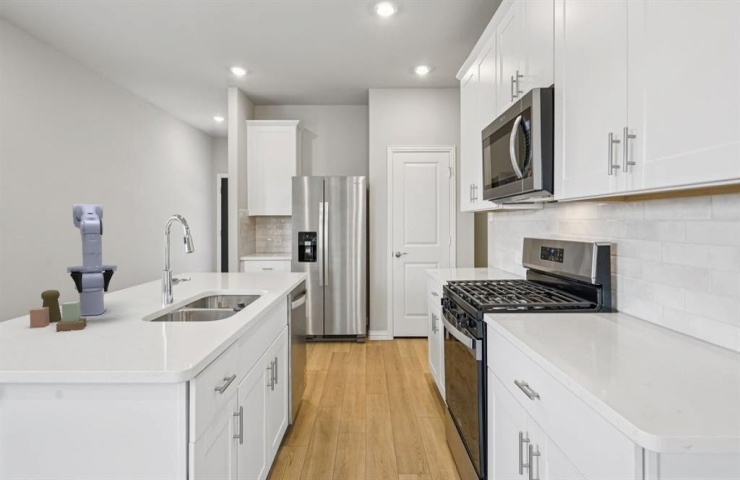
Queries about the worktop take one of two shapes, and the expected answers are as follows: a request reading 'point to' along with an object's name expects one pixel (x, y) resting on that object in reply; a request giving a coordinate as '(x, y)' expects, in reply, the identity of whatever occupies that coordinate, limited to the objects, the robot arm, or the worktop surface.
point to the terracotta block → (39, 317)
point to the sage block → (71, 311)
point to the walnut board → (71, 325)
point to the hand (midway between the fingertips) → (93, 292)
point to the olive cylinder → (52, 304)
